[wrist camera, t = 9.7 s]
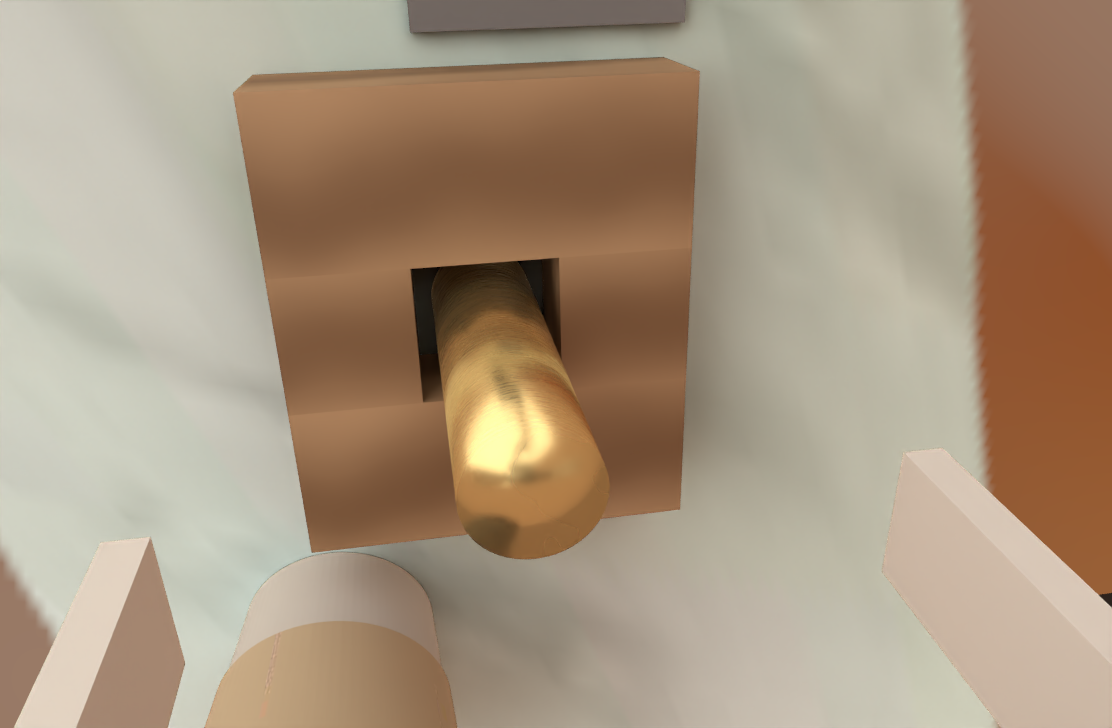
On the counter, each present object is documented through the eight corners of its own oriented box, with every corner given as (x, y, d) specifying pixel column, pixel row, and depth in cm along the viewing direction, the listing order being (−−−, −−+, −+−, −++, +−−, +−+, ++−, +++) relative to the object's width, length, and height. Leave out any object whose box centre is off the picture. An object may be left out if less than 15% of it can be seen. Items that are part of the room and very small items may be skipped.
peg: (427, 250, 28) (450, 435, 17) (527, 243, 29) (610, 419, 18) (435, 343, 29) (461, 568, 19) (530, 334, 30) (609, 549, 19)
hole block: (252, 74, 25) (233, 92, 22) (663, 57, 27) (699, 71, 24) (319, 492, 31) (311, 552, 28) (652, 455, 33) (679, 509, 30)
